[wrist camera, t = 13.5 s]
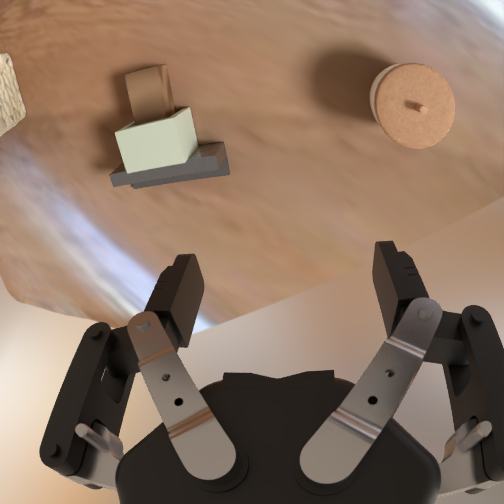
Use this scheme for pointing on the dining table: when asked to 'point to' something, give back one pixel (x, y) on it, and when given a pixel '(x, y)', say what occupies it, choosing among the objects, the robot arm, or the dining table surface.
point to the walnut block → (150, 94)
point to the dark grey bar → (178, 169)
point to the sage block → (157, 142)
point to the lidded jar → (412, 104)
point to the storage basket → (9, 96)
